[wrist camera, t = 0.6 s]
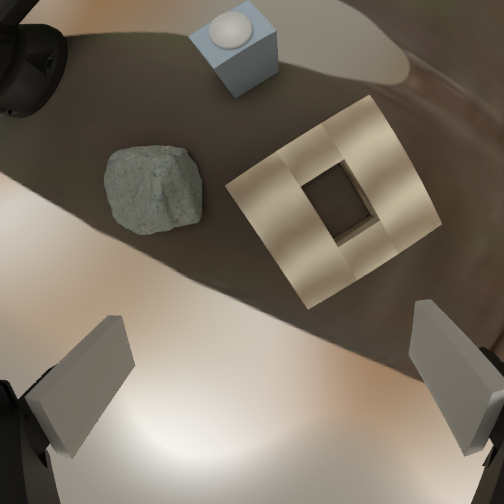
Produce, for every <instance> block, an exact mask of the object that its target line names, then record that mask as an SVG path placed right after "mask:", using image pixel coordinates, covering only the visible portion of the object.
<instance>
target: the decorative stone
mask: <svg viewBox="0 0 504 504" xmlns="http://www.w3.org/2000/svg"><path fill="white" fill-rule="evenodd" d="M202 182H203V181H202V179H201V177H200V174H199V171H198V167H197V165H196V163H195V162H194V161H193V160H192V159H191V158H190V157H189V155H188V152H187V150H186V149H184V148H179V147H173V146H159V145H155V146H147V147H145V146H137V147H130V148H128V149H122V150H118V151H116V152H115V153H113V154H112V155H111V157H110V158H109V160H108V164H107V169H106V172H105V175H104V187H105V189H106V192H107V199H108V202H109V204H110V206H111V208H112V216H113V217H114V218H115V220H116V222H117V223H118V224H121V225H123V226H124V227H125V228H127V229H130V230H132V231H133V232H134V233H137V234H139V235H150V234H153V233H155V232H157V231H158V232H161V231H169V230H171V229H172V228H174V227H180V226H185V225H189V224H194V223H198V222H199V221H200V218H201V215H202V201H203V200H202Z"/></svg>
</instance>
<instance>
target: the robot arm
mask: <svg viewBox="0 0 504 504" xmlns="http://www.w3.org/2000/svg"><path fill="white" fill-rule="evenodd" d="M38 2H39V0H0V113H2V114H4V115H6V116H10V117H26V116H29V115H31V114H33V113H34V112H36V111H37V110H38V109H39V108H41V107H42V106H43V105H44V104H45V103H46V101H47V100H48V99H49V98H50V96H51V95H52V93H53V92H54V90H55V88H56V87H57V85H58V83H59V81H60V78H61V76H62V73H63V70H64V67H65V62H66V56H67V46H66V41H65V38H64V36H63V34H62V33H61V32H60V31H59V30H57V29H55V28H53V27H51V26H49V25H46V24H19V23H20V22H21V21H22V20H23V18H24V17H25V16H26V15H27V14H28V13H29V12H30V11H31V9H32V8H33V7H34V6H35V5H36V4H37V3H38ZM409 357H410V358H411V360H412V362H413V363H414V365H415V367H416V368H417V370H418V372H419V373H420V375H421V377H422V379H423V380H424V382H425V384H426V385H427V387H428V389H429V391H430V393H431V394H432V396H433V398H434V400H435V401H436V403H437V405H438V407H439V409H440V410H441V412H442V414H443V416H444V418H445V419H446V422H447V423H448V425H449V427H450V429H451V431H452V433H453V435H454V437H455V439H456V440H457V442H458V444H459V446H460V448H461V450H462V452H463V454H464V456H467V455H470V454H473V453H476V452H479V451H482V450H483V449H484V447H485V445H486V443H487V441H488V439H489V438H490V439H491V441H492V443H493V447H492V449H491V451H490V453H489V454H488V456H487V458H486V460H485V462H484V463H483V465H482V466H485V465H486V466H485V468H484V471H483V474H482V477H481V480H480V482H479V485H478V488H477V490H476V493H475V495H474V497H473V500H472V502H471V504H504V363H503V362H501V361H500V359H499V358H498V357H497V356H496V355H495V354H494V353H493V352H492V351H490V350H488V349H486V348H484V347H481V348H477V347H476V346H475V345H474V344H473V342H472V341H471V340H470V339H469V338H468V337H467V336H466V335H465V334H464V333H463V332H462V331H461V330H460V329H459V328H458V327H457V326H456V325H455V324H454V322H453V321H452V320H451V319H450V318H449V317H448V316H447V315H446V314H445V313H444V312H443V311H442V310H441V309H440V308H439V307H438V306H437V305H436V304H435V303H434V302H433V301H432V300H431V299H430V300H422V301H415V311H414V320H413V328H412V335H411V342H410V349H409ZM134 367H135V363H134V360H133V356H132V353H131V349H130V345H129V342H128V338H127V334H126V331H125V327H124V323H123V319H122V316H109V315H108V316H107V317H106V318H105V319H104V320H103V321H102V322H101V323H100V324H99V325H98V326H96V327H95V328H94V329H93V330H92V331H91V332H90V333H89V334H88V335H87V336H86V337H85V338H84V339H83V340H82V341H81V342H80V343H79V344H77V345H76V346H75V347H74V348H73V349H72V350H71V351H70V352H69V353H68V354H67V355H66V356H65V357H64V358H63V359H62V360H61V361H60V362H59V363H58V364H56V365H55V366H53V367H51V368H50V369H48V370H47V371H46V372H45V373H44V374H43V375H42V377H40V378H39V379H38V380H37V381H36V383H34V384H33V385H32V386H31V387H30V388H29V389H28V390H27V391H26V392H25V393H24V394H23V395H22V396H21V397H20V398H19V399H17V397H16V395H15V393H14V391H13V389H12V387H11V385H10V383H9V382H8V381H7V380H0V504H61V503H60V500H59V496H58V492H57V488H56V483H55V479H54V475H53V470H52V465H51V460H50V455H49V453H48V451H47V450H46V448H47V447H48V445H49V444H51V446H52V447H53V448H54V450H55V452H56V453H57V454H58V455H61V456H64V457H67V458H71V459H73V457H74V456H75V454H76V452H77V451H78V450H79V448H80V447H81V445H82V444H83V442H84V440H85V439H86V437H87V436H88V434H89V433H90V431H91V430H92V428H93V427H94V425H95V424H96V422H97V421H98V419H99V418H100V416H101V415H102V413H103V412H104V410H105V409H106V407H107V406H108V404H109V403H110V402H111V400H112V398H113V397H114V396H115V394H116V393H117V391H118V390H119V388H120V387H121V385H122V384H123V382H124V381H125V379H126V378H127V377H128V375H129V374H130V372H131V371H132V369H133V368H134Z"/></svg>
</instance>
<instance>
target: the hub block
mask: <svg viewBox="0 0 504 504" xmlns="http://www.w3.org/2000/svg"><path fill="white" fill-rule="evenodd" d="M337 163H340V164H341V166H342V168H343V169H344V171H345V172H346V174H347V176H348V177H349V179H350V181H351V182H352V184H353V186H354V187H355V189H356V191H357V192H358V194H359V196H360V197H361V199H362V201H363V202H364V204H365V206H366V208H367V209H368V211H369V213H370V216H369V217H367V218H365V219H364V220H362V221H361V222H359V223H358V224H356V225H354V226H353V227H351V228H350V229H348V230H347V231H345V232H343V233H342V234H340V235H339V236H337V237H336V238H334V239H333V238H332V237H331V235H330V233H329V232H328V230H327V228H326V227H325V225H324V224H323V222H322V220H321V219H320V217H319V216H318V214H317V212H316V211H315V209H314V208H313V206H312V204H311V203H310V201H309V200H308V198H307V197H306V195H305V194H304V192H303V190H302V189H301V186H302V185H304V184H306V183H307V182H309V181H310V180H312V179H313V178H315V177H317V176H318V175H320V174H321V173H323V172H324V171H326V170H328V169H329V168H331V167H332V166H334V165H336V164H337ZM225 187H226V188H227V190H228V191H229V193H230V194H231V196H232V197H233V199H234V200H235V201H236V203H237V204H238V206H239V207H240V209H241V210H242V212H243V213H244V215H245V216H246V218H247V219H248V221H249V222H250V224H251V225H252V227H253V228H254V230H255V231H256V233H257V234H258V235H259V237H260V238H261V240H262V241H263V243H264V244H265V246H266V247H267V249H268V250H269V252H270V253H271V255H272V256H273V258H274V259H275V261H276V262H277V264H278V265H279V267H280V268H281V270H282V271H283V273H284V274H285V276H286V277H287V279H288V280H289V282H290V283H291V285H292V286H293V288H294V289H295V291H296V292H297V294H298V295H299V297H300V298H301V300H302V301H303V303H304V304H305V306H306V307H307V309H310V308H312V307H313V306H315V305H317V304H318V303H320V302H322V301H323V300H325V299H327V298H329V297H330V296H332V295H334V294H335V293H337V292H339V291H340V290H342V289H343V288H345V287H347V286H348V285H350V284H352V283H353V282H355V281H356V280H358V279H360V278H361V277H363V276H365V275H366V274H368V273H369V272H371V271H372V270H374V269H376V268H377V267H379V266H380V265H382V264H383V263H385V262H386V261H388V260H390V259H391V258H393V257H394V256H396V255H397V254H399V253H400V252H402V251H403V250H405V249H406V248H408V247H409V246H411V245H412V244H414V243H415V242H417V241H418V240H420V239H421V238H423V237H424V236H425V235H427V234H428V233H430V232H431V231H433V230H434V229H436V228H437V227H438V226H440V225H441V224H442V223H441V221H440V219H439V216H438V214H437V212H436V210H435V208H434V206H433V204H432V201H431V199H430V197H429V195H428V193H427V191H426V189H425V187H424V185H423V183H422V181H421V180H420V178H419V176H418V174H417V172H416V170H415V168H414V166H413V165H412V163H411V161H410V159H409V157H408V156H407V154H406V152H405V150H404V149H403V147H402V145H401V143H400V142H399V140H398V138H397V137H396V135H395V133H394V132H393V130H392V128H391V127H390V125H389V124H388V122H387V120H386V119H385V117H384V116H383V114H382V113H381V111H380V109H379V108H378V106H377V105H376V103H375V102H374V100H373V99H372V97H371V96H370V95H368V96H367V97H365V98H363V99H361V100H360V101H358V102H356V103H354V104H353V105H351V106H349V107H348V108H346V109H344V110H342V111H341V112H339V113H337V114H336V115H334V116H332V117H331V118H329V119H327V120H326V121H324V122H322V123H321V124H319V125H317V126H316V127H314V128H313V129H311V130H309V131H308V132H306V133H305V134H303V135H301V136H300V137H298V138H297V139H295V140H293V141H292V142H290V143H289V144H287V145H286V146H284V147H282V148H281V149H279V150H278V151H276V152H275V153H273V154H272V155H270V156H268V157H267V158H265V159H264V160H262V161H261V162H259V163H258V164H256V165H255V166H253V167H252V168H250V169H249V170H247V171H246V172H244V173H243V174H241V175H240V176H238V177H237V178H236V179H234V180H233V181H231V182H230V183H228V184H227V185H225Z"/></svg>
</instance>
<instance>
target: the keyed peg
mask: <svg viewBox="0 0 504 504" xmlns="http://www.w3.org/2000/svg"><path fill="white" fill-rule="evenodd" d="M189 38H190V39H191V41H192V42H193V43H194V45H195V46H196V47H197V49H198V50H199V51H200V53H201V54H202V55H203V57H204V58H205V59H206V61H207V62H208V63H209V65H210V66H211V67H212V69H213V70H214V71H215V73H216V74H217V75H218V77H219V78H220V79H221V81H222V82H223V83H224V85H225V86H226V87H227V89H228V90H229V91H230V93H231V94H232V95H233V97H234V98H235V99H236V98H238V97H240V96H241V95H243V94H244V93H246V92H247V91H249V90H250V89H252V88H253V87H255V86H257V85H258V84H260V83H261V82H263V81H265V80H266V79H268V78H270V77H271V76H273V75H274V74H276V73H278V72H279V66H278V49H277V33H276V30H275V29H274V27H273V26H272V25H271V24H270V23H269V22H268V21H267V20H266V18H265V17H264V16H263V15H262V14H261V13H260V12H259V11H258V10H257V9H256V8H255V6H254V5H253V4H252V3H251V2H250V1H249V0H248V1H246V2H244V3H242V4H240V5H239V6H237V7H235V8H233V9H232V10H230V11H228V12H226V13H223V14H221V15H219V16H217V17H216V18H215V19H214V20H213V21H212V22H210V23H208V24H207V25H205V26H204V27H202V28H201V29H199V30H198V31H196V32H195V33H193V34H192V35H190V36H189Z"/></svg>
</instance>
